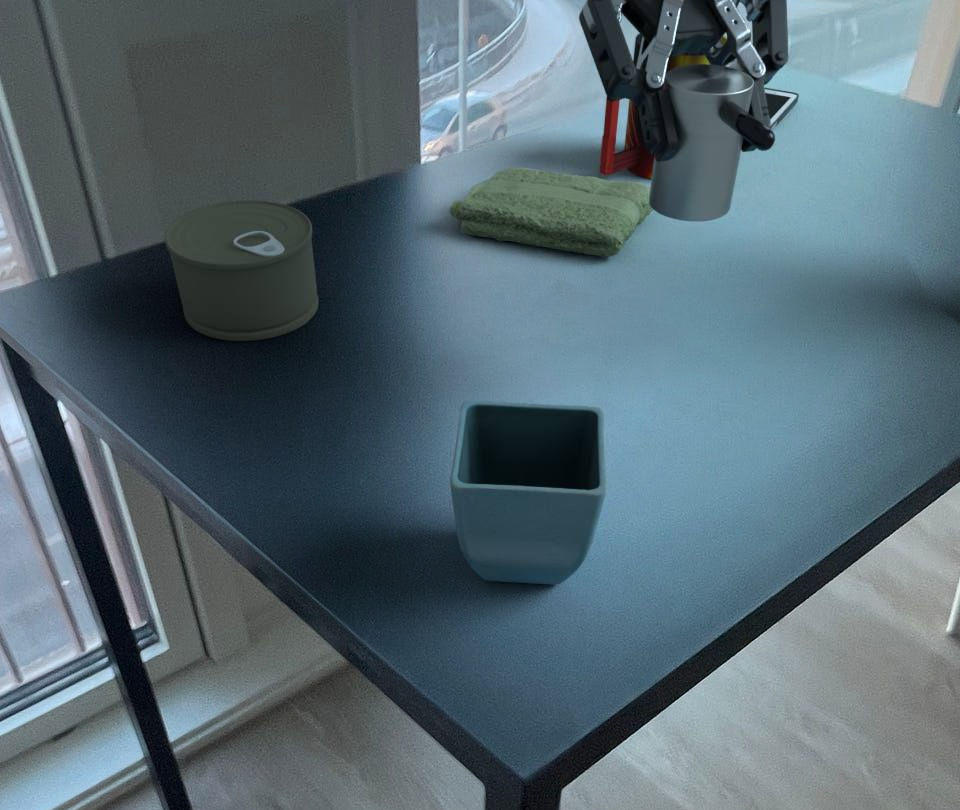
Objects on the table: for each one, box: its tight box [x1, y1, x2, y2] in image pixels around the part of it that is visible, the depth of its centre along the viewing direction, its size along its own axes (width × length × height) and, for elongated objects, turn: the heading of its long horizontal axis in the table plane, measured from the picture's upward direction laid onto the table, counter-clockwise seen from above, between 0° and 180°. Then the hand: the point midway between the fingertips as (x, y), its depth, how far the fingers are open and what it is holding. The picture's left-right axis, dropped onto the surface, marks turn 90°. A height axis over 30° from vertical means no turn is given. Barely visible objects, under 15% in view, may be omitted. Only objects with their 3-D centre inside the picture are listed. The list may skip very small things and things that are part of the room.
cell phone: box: [764, 87, 800, 131], centre depth 120 cm, size 8×15×1 cm, turn 152°
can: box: [164, 199, 319, 342], centre depth 86 cm, size 12×12×7 cm
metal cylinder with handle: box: [649, 64, 776, 223], centre depth 65 cm, size 11×6×8 cm, turn 17°
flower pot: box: [449, 400, 608, 585], centre depth 62 cm, size 9×9×9 cm
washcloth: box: [449, 166, 654, 258], centre depth 99 cm, size 13×18×3 cm
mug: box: [599, 32, 727, 180], centre depth 105 cm, size 10×14×12 cm
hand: (711, 150), depth 66 cm, fingers closed on metal cylinder with handle, 5 cm apart
